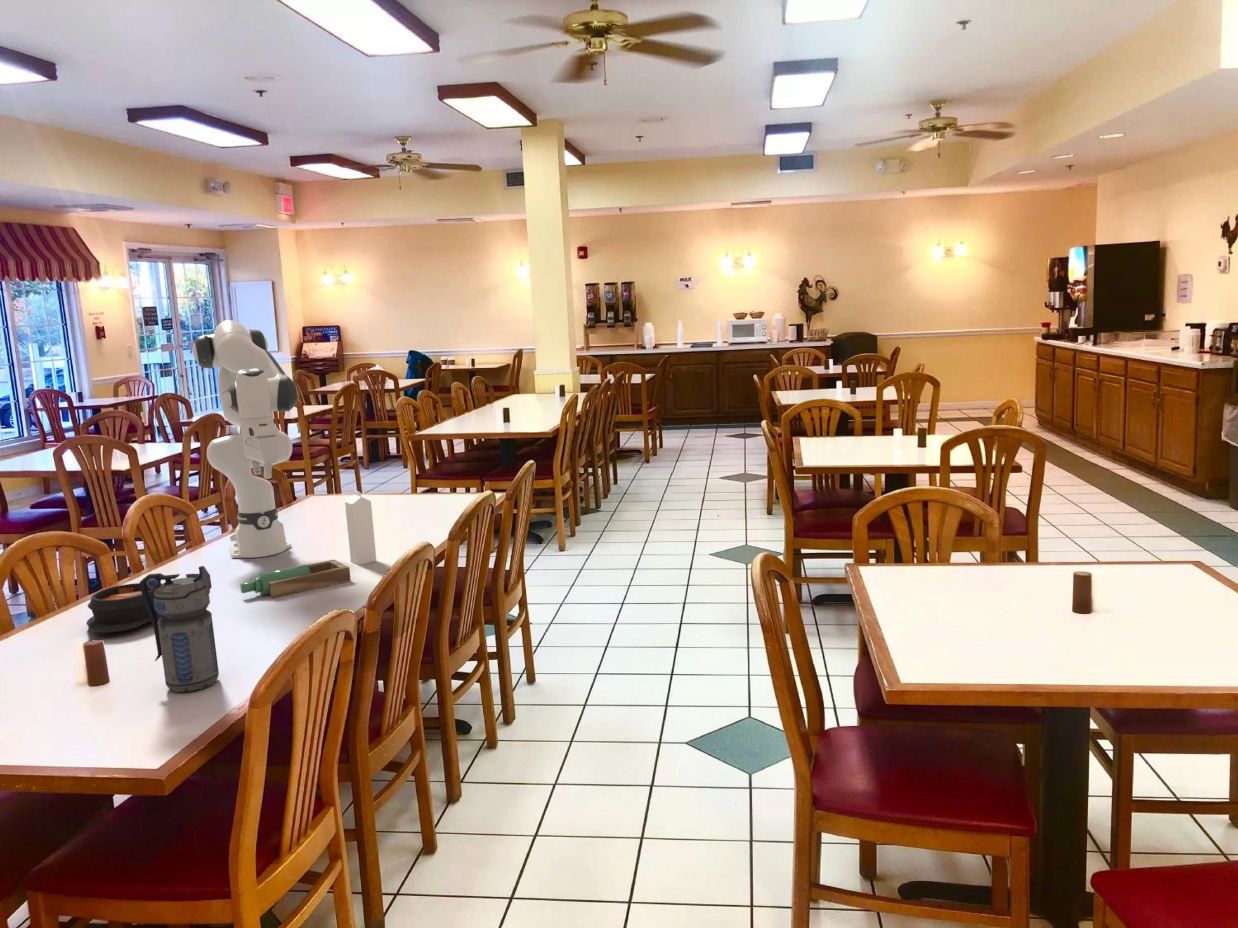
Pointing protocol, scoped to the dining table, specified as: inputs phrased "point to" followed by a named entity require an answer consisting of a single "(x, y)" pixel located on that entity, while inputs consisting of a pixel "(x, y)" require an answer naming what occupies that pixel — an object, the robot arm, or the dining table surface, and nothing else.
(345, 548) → the dining table surface
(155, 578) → the blue striped grenade
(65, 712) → the dining table surface
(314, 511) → the dining table surface
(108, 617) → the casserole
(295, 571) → the bottle
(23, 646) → the dining table surface
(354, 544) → the milk
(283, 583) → the u rest
